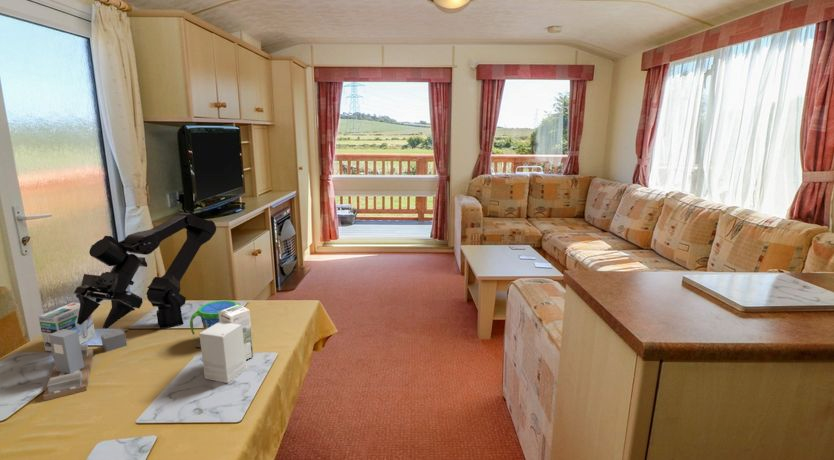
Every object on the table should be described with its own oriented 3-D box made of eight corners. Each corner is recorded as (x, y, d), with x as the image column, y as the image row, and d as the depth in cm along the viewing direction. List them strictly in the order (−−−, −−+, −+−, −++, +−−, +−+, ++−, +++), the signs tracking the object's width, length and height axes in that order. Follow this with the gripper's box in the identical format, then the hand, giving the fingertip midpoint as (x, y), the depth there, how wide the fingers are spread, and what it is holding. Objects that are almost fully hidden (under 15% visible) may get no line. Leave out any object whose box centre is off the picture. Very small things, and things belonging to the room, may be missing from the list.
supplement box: (247, 369, 116) (243, 324, 113) (227, 384, 109) (222, 337, 107) (225, 364, 119) (220, 320, 116) (203, 379, 112) (198, 332, 109)
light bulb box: (63, 353, 125) (56, 318, 122) (43, 351, 126) (36, 316, 124) (97, 336, 135) (91, 303, 133) (78, 334, 136) (72, 301, 134)
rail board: (57, 359, 121) (55, 349, 120) (93, 352, 125) (91, 341, 125) (44, 400, 103) (41, 388, 102) (86, 390, 107) (84, 378, 106)
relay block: (123, 341, 132) (120, 329, 131) (127, 345, 129) (125, 333, 128) (103, 347, 128) (100, 334, 127) (106, 352, 126) (104, 339, 125)
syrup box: (241, 351, 125) (236, 303, 122) (254, 357, 122) (249, 308, 119) (222, 360, 121) (217, 310, 117) (235, 366, 117) (230, 315, 114)
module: (70, 364, 116) (63, 328, 114) (84, 366, 115) (77, 331, 112) (56, 370, 113) (48, 334, 111) (70, 374, 111) (63, 337, 109)
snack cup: (246, 326, 141) (244, 296, 139) (250, 340, 132) (247, 308, 130) (192, 336, 135) (188, 305, 132) (192, 351, 125) (188, 318, 123)
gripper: (74, 257, 122) (39, 311, 114) (125, 263, 117) (92, 319, 109) (106, 275, 131) (75, 325, 124) (155, 281, 126) (127, 334, 118)
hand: (91, 326), depth 118 cm, fingers open, 9 cm apart
